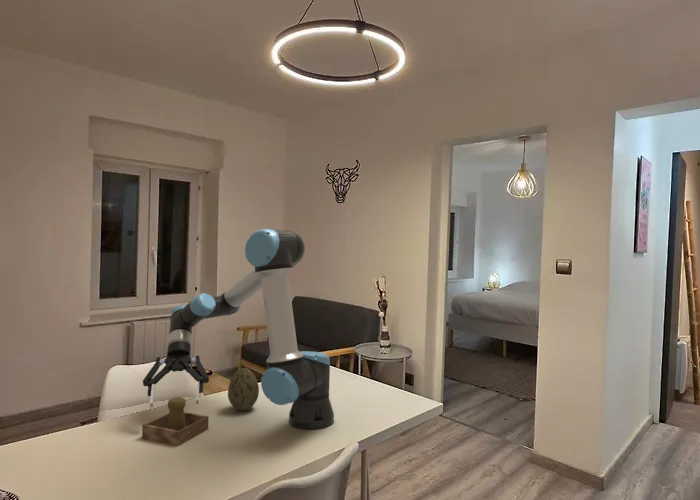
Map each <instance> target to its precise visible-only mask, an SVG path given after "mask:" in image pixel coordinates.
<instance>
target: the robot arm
mask: <svg viewBox="0 0 700 500" xmlns="http://www.w3.org/2000/svg"><path fill="white" fill-rule="evenodd" d="M305 246H306V245H305V242H304V240H303V238H302V237H301V236H300V235H299V234H298V233H296V231H292V230H286V229H285V230H284V229H273V228H262V229H257V230H256V231H253V232H252V234H251V235H250V236H249V238H248V239H247V241H246V244H245V249H244V254H245V258H246V260H247V262H249V264H250V265H252V266H253V268H251V270H249V271H248V272H247V273H245V275H243V276H242V277H241V278H240V279H238V281H236V282H235V283H234V284H232V285H231V286H230V287H229V288H228V289H227V290H226V291H224V292H223V293H221V294H220V295H218V296H212V295H210V294H207V293H205V292H202V293H199V294H198V295H196V296H195V297H193V298H192V299H191V301H190V302H188V303H187V304H186V305H184V304H183V305H182V304H181V305H179V306H175V307H174V308H173V309H172V311H171V314H170V317H169V318H170V319H169V321H170V322H169V332H168V340H167V342H168V344H167V352H166V357H165V358H161V357H160V356H157V357H156V358H155V363H154V364H153V365H152V367H151V368H150V370H149V371H148V373H147V374H145V375H146V376H145V377H144V378H143V380H142V385H143V386H144V387H147V397H150V398H149V399H150V400H149V406H150V408H154V402H155V394H156V385H157V384H158V383H159V382H160V381H161V380H162V379H163V378H164V377H165V376H166V375H167V374H169V373H170V372H171V371H172V372H175V373H176V372H184V371H185V372H186V373H188V374H189V375H190V376H191V377H192V378H193V379H194V380H195V381H196V391H195V392H196V395H195V396H196V397H195V404H196V405H199V401H200V394H202V393H203V392H204V384H208V383H209V381H210V377H209V374H208V373H207V371H206V369H205V368H204V366H203V365H202V363H201V358H200V355H196V356H195V357H191V352H192V351H191V349H192V348H191V346H192V335H193V334H192V332H193V327H195V326H196V325H197V324H199V323H200V322H201V321H202V320H206V319H213V318H218V317H224V316H225V317H226V316H232V315H234V314H237V313H238V312H239V311H240V309H241V305H243V304H244V303H245V302H246V301H248V300H249V299H251V297H252V296H254V295H255V294H256V293H258V292H259V291H260V290H262V298H263V306H264V314H265V315H264V316H265V323H266V329H267V337H268V345H269V346H268V347H269V353H270V354H269V356H268V357H267V359H266V360H265V361H266V370H264V372H263V374H262V376H261V380H260V384H261V386H260V387H261V390H262V392H263V394H264V396H265V397H266V399H268V400H269V401H270V402H271V403H273V404H275V405H278V406H285V405H288V404H291V407H290V411H289V415H288V423H289V424H290V425H291V426H293V427H294V428H299V429H305V430H316V429H317V430H318V429H323V428H326V427H329V426H331V425H333V423H334V421H335V414H334V409H333V406H332V403H331V400H330V378H331V377H330V373H331V369H330V368H331V363H330V362H331V361H330V355H328V354H327V353H324V352H318V351H312V350H311V351H309V350H307V351H303V350H302V351H299V349H298V348H299V347H298V343H297V334H296V325H295V317H294V311H293V301H292V295H291V288H290V280H289V274H290V272H291V271H292V270H293V268H294V267H295V266H296V265H298V264H299V263H300V262H301V261H302V259H303V257H304V255H305V252H306V251H305V250H306V249H305V248H306V247H305ZM192 363H193V364H194V365H195V366H196V369H197V370H198V371H199V373H200V374H199V373H198V372H197V371H196V370H195V369H194V368H193V367H192V366H191V364H192ZM164 364H165V365H164ZM162 365H164V366H163V368H162V369H161V370H160V371H158V370H159V369H160V367H161V366H162Z"/></svg>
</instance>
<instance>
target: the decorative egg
mask: <svg viewBox="0 0 700 500" xmlns="http://www.w3.org/2000/svg"><path fill="white" fill-rule="evenodd" d="M259 386H260V385H259V383H258V380H257V378H256V375H255V374H254V372H253V371H252V370H250V368H247V367H242V368H239V369H238V370H237V371H236V372H235V373H234V374H233V375H232V377H231V379H230V381H229V385H228V389H227V397H228V401H229V403H230V405H231V406H232V407H233V408H234V409H235V410H238V411H247V410H249V409H251V408H252V407H253V406H254V405H255V404H256V403H257V400H258V398H259V394H260V387H259Z"/></svg>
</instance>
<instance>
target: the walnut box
mask: <svg viewBox="0 0 700 500" xmlns="http://www.w3.org/2000/svg"><path fill="white" fill-rule="evenodd" d="M184 416H185V424H186V427H185V428H183V429H181V430H179V431H177V430H172V429H167V424H168V417H169V412H168V413H166V414H164V415H161V416H159V417H157V418H155V419H153V420H151V421H148V422H146V423H144V424H142V431H141V432H142V433H141V434H142V435H141V438H142V439H144V440H149V441H153V442H158V443H163V444H167V445H173V446H177V447H179V446H181V445H182V444H185V443H186V442H188V441H190V440H192V439H193V438H195V437H197V436H199V435H200V434H202V433H205V432H206V431H207V430H209V416H208V415H202V414H197V413H190V412H186V411H184Z"/></svg>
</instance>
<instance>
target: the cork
mask: <svg viewBox="0 0 700 500" xmlns="http://www.w3.org/2000/svg"><path fill="white" fill-rule="evenodd" d="M185 408H186V399H185V398H184V397H182V396H176V397H172V398H170V399H169V400H168V402H167V409H168V410H169V411H168V413H169V417H168V424H167V429H172V430H177V431H179V430H181V429H183V428H185V427H187V426H186V424H185V416H184V412H185Z"/></svg>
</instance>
